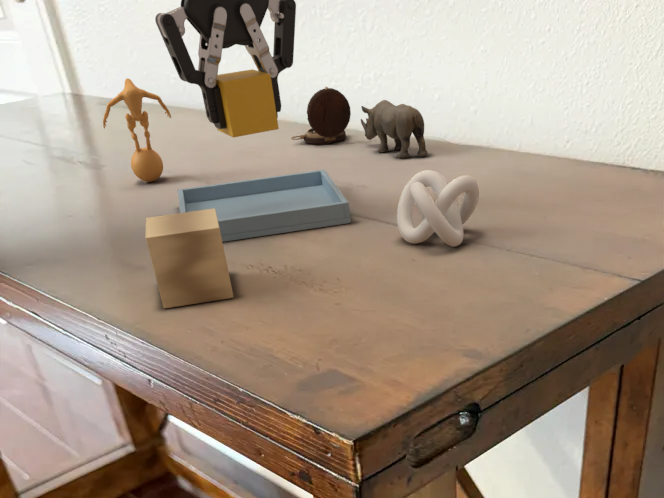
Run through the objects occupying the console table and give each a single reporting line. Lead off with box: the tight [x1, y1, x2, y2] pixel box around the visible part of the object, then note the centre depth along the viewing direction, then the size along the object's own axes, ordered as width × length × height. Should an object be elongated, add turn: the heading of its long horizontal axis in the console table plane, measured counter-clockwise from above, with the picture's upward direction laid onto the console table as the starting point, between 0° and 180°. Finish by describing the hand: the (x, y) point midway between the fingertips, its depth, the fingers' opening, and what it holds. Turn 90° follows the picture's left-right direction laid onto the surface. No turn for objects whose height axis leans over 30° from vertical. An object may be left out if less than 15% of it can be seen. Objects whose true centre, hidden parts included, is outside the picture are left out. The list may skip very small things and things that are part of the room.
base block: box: [145, 208, 235, 309], centre depth 70 cm, size 6×6×6 cm
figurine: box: [102, 77, 172, 183], centre depth 101 cm, size 8×6×12 cm
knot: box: [396, 169, 480, 247], centre depth 77 cm, size 8×8×6 cm
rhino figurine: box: [360, 99, 429, 159], centre depth 108 cm, size 4×14×6 cm, turn 35°
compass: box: [291, 86, 352, 145], centre depth 115 cm, size 8×8×7 cm
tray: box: [177, 169, 352, 243], centre depth 89 cm, size 17×15×2 cm
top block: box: [216, 68, 280, 138], centre depth 83 cm, size 5×5×5 cm
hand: (246, 122), depth 84 cm, fingers closed on top block, 5 cm apart
